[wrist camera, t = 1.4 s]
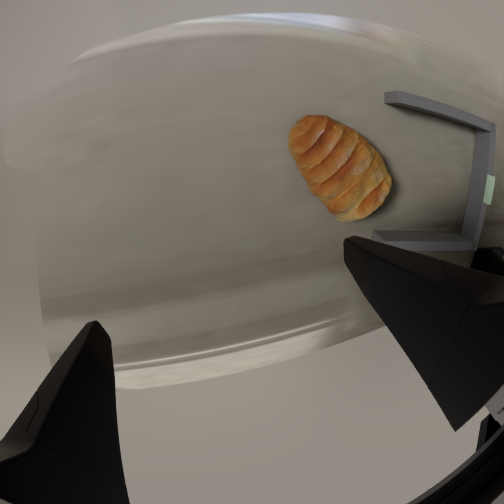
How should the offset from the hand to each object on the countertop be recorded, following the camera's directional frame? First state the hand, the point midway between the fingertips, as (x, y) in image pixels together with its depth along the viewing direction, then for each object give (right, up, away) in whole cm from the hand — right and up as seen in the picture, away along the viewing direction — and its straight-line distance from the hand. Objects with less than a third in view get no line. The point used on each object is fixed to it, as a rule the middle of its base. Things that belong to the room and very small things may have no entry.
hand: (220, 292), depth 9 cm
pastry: (+8, +9, +14) cm, 18 cm away
